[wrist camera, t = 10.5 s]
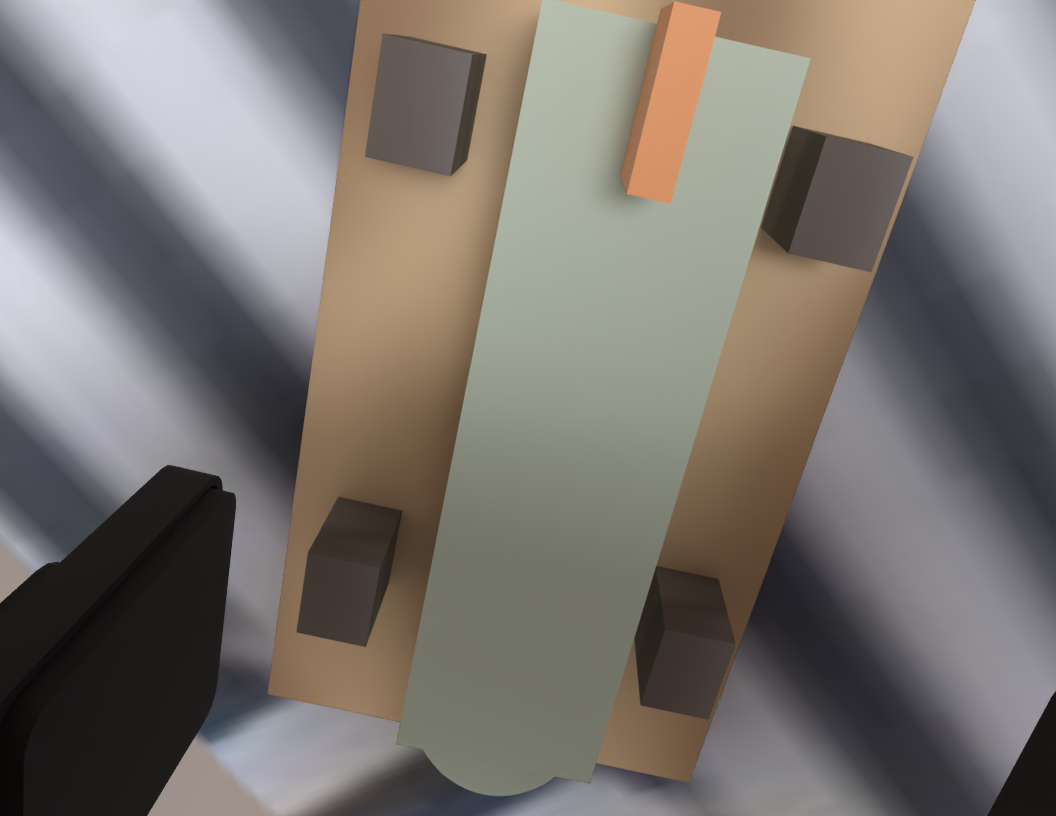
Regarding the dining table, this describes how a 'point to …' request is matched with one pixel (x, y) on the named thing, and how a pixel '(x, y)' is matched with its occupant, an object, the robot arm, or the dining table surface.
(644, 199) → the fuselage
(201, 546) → the robot arm
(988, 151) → the dining table surface
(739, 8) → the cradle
